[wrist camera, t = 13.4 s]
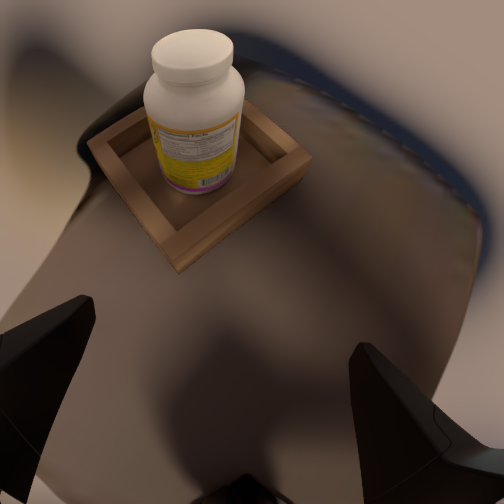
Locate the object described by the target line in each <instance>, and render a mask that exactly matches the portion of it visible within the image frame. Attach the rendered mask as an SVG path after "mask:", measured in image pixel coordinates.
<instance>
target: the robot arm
mask: <svg viewBox="0 0 504 504" xmlns="http://www.w3.org/2000/svg"><path fill="white" fill-rule="evenodd" d="M95 320H96V315H95V308H94V302H93V299H92V297H90V296H86V295H79V296H77V297H75V298H73V299H71V300H69V301H67V302H65V303H63V304H61V305H58V306H56V307H54V308H52V309H50V310H48V311H46V312H44V313H42V314H40V315H38V316H36V317H34V318H32V319H30V320H28V321H26V322H24V323H22V324H20V325H18V326H16V327H14V328H13V329H11V330H9V331H7V332H5V333H4V334H1V335H0V494H1V491H4V492H5V493H7V494H8V495H10V496H12V497H13V498H15V499H16V500H18V501H20V502H21V503H23V504H26V503H27V500H28V496H29V493H30V489H31V486H32V483H33V479H34V476H35V473H36V470H37V467H38V464H39V461H40V458H41V457H40V456H41V454H42V452H43V449H44V446H45V443H46V440H47V438H48V435H49V432H50V430H51V427H52V425H53V422H54V420H55V417H56V415H57V412H58V410H59V408H60V405H61V403H62V400H63V398H64V396H65V394H66V391H67V389H68V387H69V385H70V382H71V380H72V378H73V376H74V374H75V372H76V369H77V367H78V365H79V363H80V361H81V359H82V356H83V354H84V351H85V348H86V345H87V342H88V340H89V337H90V334H91V332H92V329H93V326H94V324H95ZM349 379H350V396H351V406H352V412H353V418H354V425H355V432H356V438H357V445H358V453H359V461H360V469H361V477H362V487H363V497H364V504H504V449H495V448H489V447H487V446H485V445H483V444H481V443H480V442H479V441H478V440H476V439H475V438H473V436H471V435H470V434H469V433H467V432H466V431H465V430H464V429H463V428H461V427H460V426H459V425H458V424H457V423H455V422H454V421H453V420H452V419H450V418H449V417H448V416H447V415H446V414H445V413H444V412H443V411H442V410H441V409H440V408H439V407H438V406H436V405H435V404H434V403H433V402H432V401H431V400H430V399H429V398H428V397H427V396H426V395H425V394H424V393H423V392H422V391H421V390H420V389H419V388H418V387H417V386H416V385H414V384H413V383H412V382H411V381H410V380H409V379H408V378H407V377H406V376H405V375H404V374H403V373H402V372H401V371H400V370H399V369H398V368H396V367H395V366H394V365H393V364H392V363H391V362H390V361H389V360H388V359H387V358H386V357H385V356H384V355H383V354H382V353H380V352H379V351H378V350H377V349H376V348H375V347H374V346H373V345H372V344H371V343H364V342H360V343H358V345H357V346H356V348H355V350H354V352H353V354H352V355H351V357H350V359H349ZM246 478H249V479H250V480H249V481H244V480H245V479H246ZM0 504H1V502H0ZM200 504H288V503H287V502H285V501H284V500H282V499H281V498H280V497H278V496H277V495H276V494H274V493H273V492H272V491H270V490H269V489H268V488H267V487H265V486H264V485H263V484H262V483H260V482H259V481H258V480H257V479H255V478H254V477H253V476H252V475H250V474H244V475H242V476H241V477H240V478H238V479H237V480H235V481H234V482H233V483H231V484H230V485H224V486H223V487H221V488H220V489H218V490H217V491H215V492H213V493H212V494H210V495H209V496H207V497H206V498H204V499H203V500H202V503H200Z"/></svg>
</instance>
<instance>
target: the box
mask: <svg viewBox="0 0 504 504" xmlns="http://www.w3.org/2000/svg"><path fill="white" fill-rule="evenodd" d="M87 144H88V146H89V148H90V150H91V152H92V154H93V155H94V157H95V159H96V161H97V163H98V165H99V166H100V168H101V169H102V171H103V172H104V174H105V175H106V177H107V178H108V180H109V181H110V182H111V184H112V185H113V187H114V188H115V190H116V191H117V193H118V194H119V195H120V197H121V198H122V200H123V201H124V202H125V204H126V205H127V207H128V208H129V209H130V211H131V212H132V213H133V215H134V216H135V218H136V219H137V220H138V222H139V223H140V224H141V226H142V227H143V228H144V230H145V231H146V232H147V234H148V235H149V236H150V238H151V239H152V240H153V242H154V243H155V244H156V246H157V247H158V248H159V249H160V251H161V252H162V253H163V255H164V256H165V257H166V258H167V260H168V261H169V262H170V264H171V265H172V266H173V267H174V269H175V270H176V271H177V272H178V274H180V273H181V272H183V271H184V270H185V269H186V268H188V267H189V266H190V265H191V264H193V263H194V262H195V261H197V260H198V259H199V258H200V257H202V256H203V255H204V254H205V253H207V252H208V251H209V250H211V249H212V248H213V247H214V246H216V245H217V244H218V243H220V242H221V241H222V240H223V239H225V238H226V237H227V236H229V235H230V234H231V233H232V232H234V231H235V230H236V229H238V228H239V227H240V226H242V225H243V224H244V223H245V222H247V221H248V220H249V219H251V218H252V217H253V216H255V215H256V214H257V213H259V212H260V211H261V210H262V209H264V208H265V207H266V206H268V205H269V204H270V203H272V202H273V201H274V200H276V199H277V198H278V197H280V196H281V195H282V194H284V193H285V192H286V191H288V190H289V189H290V188H292V187H293V186H294V185H296V184H297V183H299V182H300V181H301V180H302V178H303V176H304V174H305V172H306V170H307V168H308V166H309V164H310V162H311V160H312V158H313V157H311V156H310V155H309V154H308V153H307V152H306V151H305V150H304V149H303V148H302V147H301V146H300V145H298V144H297V143H296V142H295V141H294V140H293V139H292V138H291V137H290V136H288V135H287V134H286V133H285V132H284V131H283V130H282V129H280V128H279V127H278V126H277V125H276V124H275V123H273V122H272V121H271V120H270V119H269V118H268V117H266V116H265V115H264V114H263V113H262V112H260V111H259V110H258V109H257V108H255V107H254V106H253V105H252V104H250V103H249V102H248V101H247V100H245V99H244V101H243V107H242V114H241V122H240V130H239V138H238V147H237V155H236V163H235V168H234V171H233V174H232V176H231V177H230V179H229V180H228V181H227V182H226V183H225V184H224V185H223V186H222V187H220V188H218V189H217V190H215V191H212V192H210V193H206V194H199V195H194V194H186V193H182V192H180V191H178V190H176V189H174V188H173V187H172V186H170V185H169V184H168V183H167V181H166V180H165V178H164V176H163V174H162V171H161V168H160V165H159V161H158V157H157V153H156V150H155V146H154V142H153V138H152V134H151V130H150V126H149V122H148V118H147V114H146V110H145V106H143V107H141V108H140V109H138V110H136V111H134V112H133V113H131V114H129V115H128V116H126V117H124V118H123V119H121V120H119V121H118V122H116V123H115V124H113V125H112V126H110V127H108V128H107V129H105V130H104V131H102V132H101V133H99V134H98V135H96V136H95V137H93V138H92V139H90V140H89V141H88V142H87Z"/></svg>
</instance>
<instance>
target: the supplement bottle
mask: <svg viewBox="0 0 504 504" xmlns="http://www.w3.org/2000/svg"><path fill="white" fill-rule="evenodd" d="M232 61H233V44H232V41H231V40H230V39H229V38H228V37H227V36H225V35H224V34H222V33H219V32H216V31H211V30H206V29H193V30H184V31H180V32H176V33H173V34H170V35H168V36H166V37H164V38H163V39H161V40H160V41H158V42H157V43H156V44H155V46H154V47H153V50H152V62H153V69H154V72H155V73H154V74H153V75H152V76H151V77H150V79H149V80H148V82H147V84H146V86H145V90H144V96H143V97H144V105H145V110H146V114H147V118H148V122H149V126H150V130H151V134H152V138H153V142H154V146H155V150H156V153H157V157H158V161H159V165H160V168H161V171H162V174H163V176H164V178H165V180H166V181H167V183H168V184H169V185H170V186H172V187H173V188H174V189H176V190H178V191H180V192H182V193H186V194H194V195H199V194H206V193H210V192H212V191H215V190H217V189H218V188H220V187H222V186H223V185H224V184H225V183H226V182H227V181H228V180H229V179H230V177H231V176H232V174H233V171H234V168H235V163H236V155H237V147H238V138H239V130H240V122H241V114H242V107H243V101H244V94H245V87H244V82H243V80H242V77H241V76H240V74H239V73H238V71H237V70H236V69H235V68H234V67H232V66H231V65H232Z"/></svg>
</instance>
